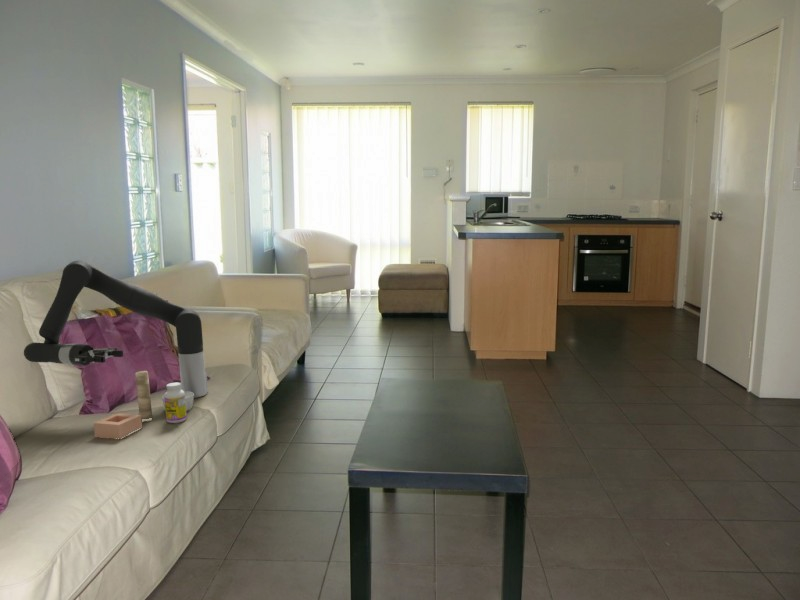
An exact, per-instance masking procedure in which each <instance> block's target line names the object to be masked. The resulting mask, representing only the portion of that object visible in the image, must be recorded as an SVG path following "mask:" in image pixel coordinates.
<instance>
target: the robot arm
mask: <svg viewBox="0 0 800 600" xmlns="http://www.w3.org/2000/svg"><path fill="white" fill-rule="evenodd" d="M84 288H86V289H90V290H92V291H96V292H98V293H100V294H102V295H103V296H105V297H107V298H108V299H109V300H110V301H112V302H113V303H114V304H116V305H118V306H120V307H122V308H123V309H126V310H128V311H131V312H133V313H136V314H139V315H142V316H145V317H149V318H154V319H158V320H160V321H162V322H165V323H167V324H169V325H172V327H175V333H176V342H177V354H178V364H179V376H180V383H181V390H183V391H190V392H193V393H194V398H193V399H196V398H201V397H204V396H206V395H207V394H208V392H209V389H208V387H209V386H208V377H207V376H208V375H207V368H206V365H205V356H204V340H203V338H204V337H203V327H202V326H203V325H202V320H201V317H200V315H199V313H198V312H196V311H194V310H192V309H188V308H185V307H183V306H180V305H177V304H174V303H172V302H169V301H167V300H165V299H163V298H162V297H160V296H159V295H156V294H154V293H152V292H151V291H149V290H146V289H145V288H142V287H140V286H138V285H135V284H133V283H130V282H128V281H126V280H123V279H119V278H117V277H114V276H111V275H110V274H108V273H105V272H103V271H102V270H100V269H98V268H96V267H95V266H92V265H91V264H89V263H88V262H87V261H86V262H85V261H83V260H74V261H71V262H69V263H68V264H67V265H66V266H65V267H63V269H62V275H61V278H60V283H59V287H58V290H57V292H56V295H55V297H54V300H53V302H52V304H51V305H50V308H49V309H48V311H47V314H46V315H45V317H44V319H43V321H42V323H41V326H40V328H39V330H38V334H39V336H40V337H41V338H44V341H43V342H34V341H33V342H31V343H29V344H27V345H26V346H25V348H24V350H23V356H24V358H25V359H26V360H27V361H28V362H32V363H54V364H59V365H60V364H64V365H69V366H83V367H84V366H85V367H86V366H90V365H91V364H95V363H105V362H106V360H107V359H109V358H122V357H124V351H123V350H121V349H120V350H119V349H118V348H116V347H103V348H94V347H93V346H92V345H90V344H87V343H60V337H61V336H62V333H63V330H64V328H65V327H66V324H67V322H68V320H69V317H70V315H71V314H70V313H71V311H72V308H73V306H74V304H75V301H76V299H77V298H78V296H79V294H80V293H81V292H82V290H83V289H84Z"/></svg>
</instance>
